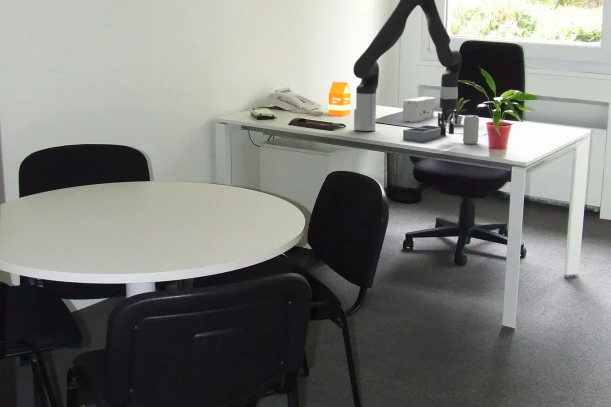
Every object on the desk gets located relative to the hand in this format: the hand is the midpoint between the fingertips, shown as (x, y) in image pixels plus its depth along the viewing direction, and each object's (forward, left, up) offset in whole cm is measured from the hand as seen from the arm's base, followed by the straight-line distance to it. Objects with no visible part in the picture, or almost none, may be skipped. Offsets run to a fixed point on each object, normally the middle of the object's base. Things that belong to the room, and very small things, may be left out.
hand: (447, 135), depth 348 cm
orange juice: (-77, +26, -4) cm, 81 cm away
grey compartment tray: (-13, +3, -3) cm, 14 cm away
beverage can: (+9, +4, -3) cm, 11 cm away
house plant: (-15, +38, -3) cm, 41 cm away
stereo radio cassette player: (-38, +41, -4) cm, 56 cm away
